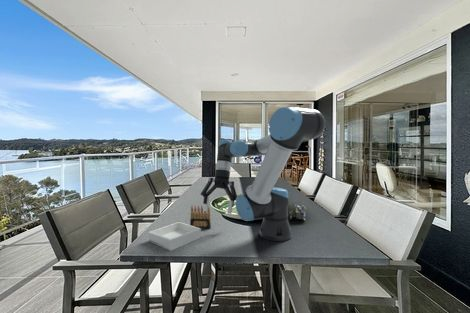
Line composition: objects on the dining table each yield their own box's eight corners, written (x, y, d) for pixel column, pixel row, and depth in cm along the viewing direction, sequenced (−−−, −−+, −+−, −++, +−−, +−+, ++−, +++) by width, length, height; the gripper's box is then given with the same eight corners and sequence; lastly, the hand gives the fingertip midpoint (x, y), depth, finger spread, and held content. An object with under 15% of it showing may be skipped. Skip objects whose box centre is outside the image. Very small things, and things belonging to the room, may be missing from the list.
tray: (201, 237, 119) (200, 228, 119) (170, 250, 106) (170, 240, 105) (179, 230, 129) (179, 221, 129) (148, 241, 115) (148, 231, 115)
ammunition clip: (190, 228, 132) (189, 205, 132) (191, 226, 134) (190, 204, 133) (210, 229, 131) (209, 206, 130) (210, 227, 133) (210, 205, 132)
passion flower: (303, 229, 145) (310, 216, 138) (284, 226, 145) (291, 213, 137) (300, 213, 154) (307, 200, 146) (283, 210, 153) (289, 197, 146)
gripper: (238, 174, 140) (234, 214, 135) (197, 166, 127) (191, 209, 122) (246, 173, 133) (242, 215, 129) (204, 165, 121) (198, 210, 116)
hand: (217, 212), depth 126 cm, fingers open, 13 cm apart
